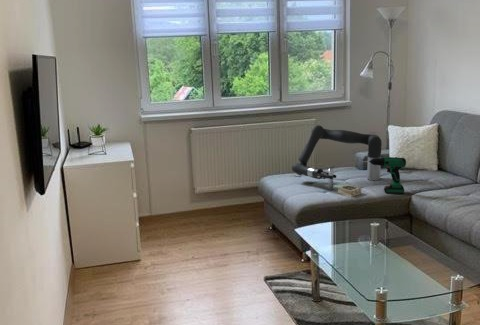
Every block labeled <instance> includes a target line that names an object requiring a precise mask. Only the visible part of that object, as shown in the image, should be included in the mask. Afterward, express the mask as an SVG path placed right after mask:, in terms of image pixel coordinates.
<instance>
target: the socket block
mask: <svg viewBox="0 0 480 325" xmlns="http://www.w3.org/2000/svg"><path fill="white" fill-rule="evenodd" d="M351 185H352V184H349V185H346V186H343V187H340V188H337V194H338V195H342V196H346V197H350V198H353V197H356V196H358V195H361V194H362V188H361V187H359V186H355V185H353V186H351Z"/></svg>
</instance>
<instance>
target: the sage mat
mask: <svg viewBox="0 0 480 325" xmlns="http://www.w3.org/2000/svg"><path fill="white" fill-rule="evenodd" d="M346 185H351V186H354V184H353V185H352V184H348V183H343V182H341V183H338V184H333V188H336V189H338V188H340V187H343V186H346Z"/></svg>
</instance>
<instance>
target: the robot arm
mask: <svg viewBox="0 0 480 325" xmlns="http://www.w3.org/2000/svg"><path fill="white" fill-rule="evenodd" d="M310 133H311V134H310V136H309V139H308V141H307V143H306V144H305V146H304V148H303V150H302V151H301V154H300V155H299V158H298V161H299V163H297V162H296V163H293V164H292V166H291V171H292V172H293V173H295V174H297V175H298V176H305V177H309V178H312V179H317V180H325V179H328V180H329V179H333V180H334V179H336V178H337V175H336V174H334V173H333V176H330V175H329V170H328V171H324V170H323V168H318V167H313V166H312V167H311V166H308V162H309V160H310V159H311V156H312V154H313V152H314V149H315V148H316V145H317V143H318V142H319V141H320V140H329V141H333V142H334V141H335V142H338V143H345V144H354V145H355V144H363V145H367V146H368V147H367V148H368V150H367V161H371V160H372V159H373V158H382V157H381V156H382V155H381V154H382V139H381V138H380V136H379V135H377V134H370V133H369V134H367V133H366V134H365V133H359V132H356V131H351V130H345V129H327V128H324V127H323V126H322V125H320V124H319V125H315V126H313V127H312V128H311V132H310ZM381 167H382V165H373V164H371V162H367V171H366V172H367V173H366V176H367V177H366V179H367V180H368V179H369V180H368V181H373V180H375V181H379V180H381V172H382V170H381V169H382V168H381Z"/></svg>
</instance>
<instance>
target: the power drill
mask: <svg viewBox="0 0 480 325" xmlns="http://www.w3.org/2000/svg"><path fill="white" fill-rule="evenodd" d="M406 159H407V158H405V157H398V156H395V157H394V156H393V157H391V156H389V157H388V156H384V157H381V158H373V159H372V160H371V161H368V160H366V161H365V160H364V161H361V162H363V163H368V162H371V164H373V165H380V166H381V167H382V166H383V168H384V169H386V172H387V173H388V174H390V175H391V180H392V182H390V183H389V185H385V186H384V188H383V192H384V193H385V194H401V195H403V194H405V188H404V185H403V184H402V183H401V174H400V169H404V168H406V164H407V160H406Z"/></svg>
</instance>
